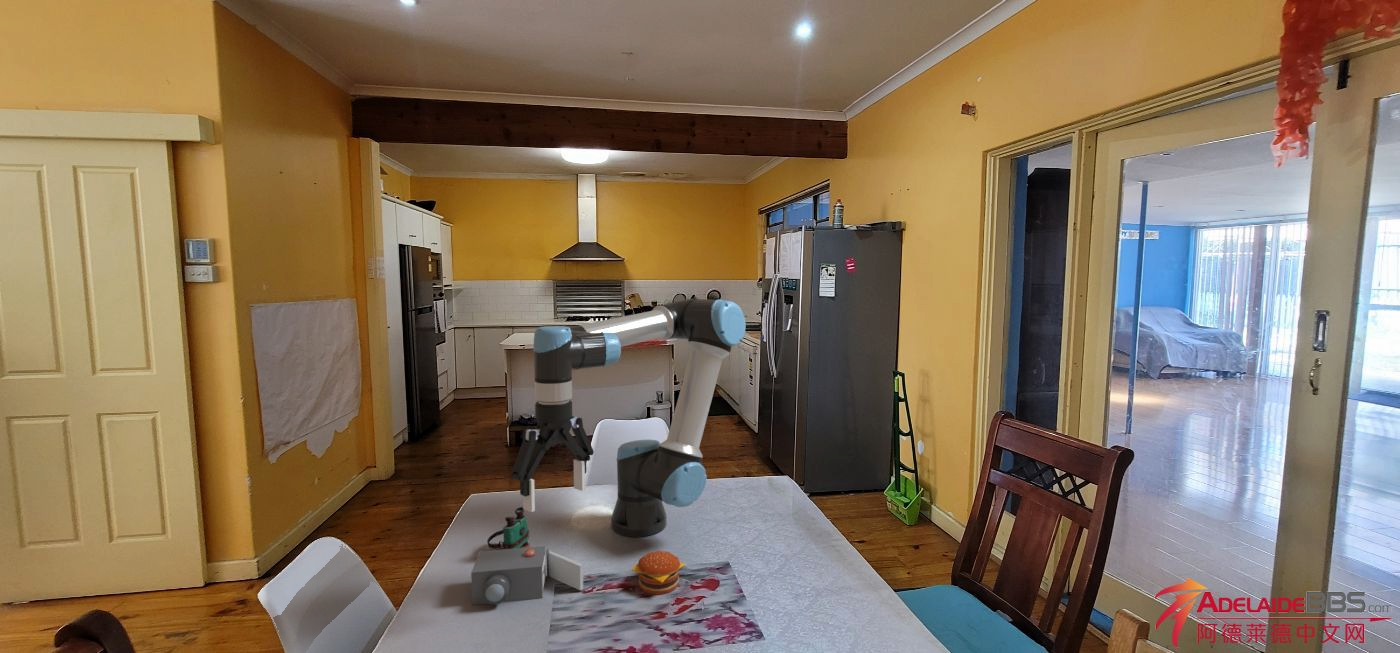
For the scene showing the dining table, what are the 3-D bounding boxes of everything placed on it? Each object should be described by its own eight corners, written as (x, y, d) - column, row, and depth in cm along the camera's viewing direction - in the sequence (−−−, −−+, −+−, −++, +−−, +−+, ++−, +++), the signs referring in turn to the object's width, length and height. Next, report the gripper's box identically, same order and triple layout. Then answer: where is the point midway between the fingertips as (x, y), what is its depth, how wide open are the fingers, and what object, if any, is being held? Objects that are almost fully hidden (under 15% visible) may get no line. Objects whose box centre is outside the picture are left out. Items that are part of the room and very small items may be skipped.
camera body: (546, 575, 128) (546, 542, 127) (542, 605, 116) (541, 569, 115) (480, 581, 125) (479, 547, 124) (469, 612, 113) (468, 575, 113)
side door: (549, 573, 128) (549, 548, 127) (583, 588, 122) (583, 562, 121) (545, 575, 127) (545, 550, 126) (580, 591, 121) (579, 564, 120)
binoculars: (496, 505, 142) (532, 505, 140) (501, 545, 143) (537, 545, 141) (475, 520, 134) (513, 520, 132) (481, 562, 134) (518, 563, 132)
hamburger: (629, 587, 123) (628, 558, 123) (655, 568, 131) (655, 541, 131) (663, 600, 118) (663, 570, 118) (688, 580, 126) (688, 552, 126)
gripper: (585, 388, 129) (586, 478, 131) (490, 409, 109) (493, 515, 111) (608, 392, 125) (609, 485, 127) (514, 415, 104) (517, 524, 106)
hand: (555, 499), depth 119 cm, fingers open, 13 cm apart
